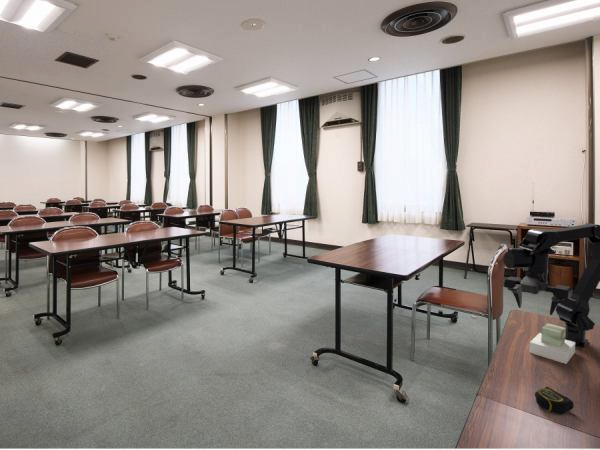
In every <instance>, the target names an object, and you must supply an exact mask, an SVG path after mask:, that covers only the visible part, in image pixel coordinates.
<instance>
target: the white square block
mask: <svg viewBox="0 0 600 450" xmlns="http://www.w3.org/2000/svg"><path fill="white" fill-rule="evenodd" d="M541 336H542V332H539V333H538V334H536V336H534V337H533V339H531V340H530V341H529V349H528V350H529V351H528V352H529V353H530V354H533V355H536V356H539V357H543V358H546V359H549V360H552V361H555V362H558V363H562V364H565V365H566V364H568V362H569V361H570V360H571V358H572V357H573V356H574V354H575V353H576V345H575V342H572V341H569V340H565V343H564V344H563V345H561V346H560V347H556V346H553V345H550V344H546V343H543V342H541Z"/></svg>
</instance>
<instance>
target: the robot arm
mask: <svg viewBox="0 0 600 450" xmlns="http://www.w3.org/2000/svg"><path fill="white" fill-rule="evenodd" d="M581 239H587V240H588V242H589V243H591V244H592V245H591V247H590V251H591V259H590V260H589V262H588V263H587V266H586V267H585V270H584V271H583V273H582V275H581V276H580V278H579V280H578V282H577V283H576V285H575V287H574V289H573V288H572V287H571V286H566V285H563V284H557V285H556V286H549V284H548V283H549V282H548V273H549V256H550V255H555V254H556V251H554V250H553V249H552V247H556V246H558V244H560V243H563V242H568V241H574V240H575V241H576V240H581ZM502 260H503V264H504V266H505V268H507V269H511V270H512V269H526V270H525V275H524V276H523V278H521V277H517V276H516V277H515V276H511V275H510V276H509V277H507V278H505V279H504V280H503V284H502V285H503V286H502V287H504V288H507V290H508V291H510V292H511V293H512V294H513V297H514V298H515V301H516V303H517V307H518V308H519V309H521V308H522V303H523V293H527V294H529V293H530V294H532V295H537V294H539V292H547V293H552V295H553V296H552V297H551V304H550V310H549V316H552V315H553V313H554V312H556V314H557V315H558V317H559V321H561V322H563V323H564V324H565V325H564V328H566V330H565V340H569V341H572V342H575V346H577V347H582V348H585V347H586V345H587V344H588V343H589V339H586V338H587V337H586V336H587V332H588V331H590V330H593V329H594V327H595V325H596V324H595V322H594V321H593V320H592V319H591V318H590V317H589V313H590V303H589V301H590V299H591V298H592V295H593V294H594V293H595V291H596V289H597V288H598V285H599V284H600V224H596V223H595V224H594V223H585V224H580V225H574V226H569V227H561V228H556V229H548V228H546V229H544V228H532V229H529V230H527V232H526V234H525V236H524V238H523V239H522V240H521V241H520V243H519V244H518V245H517V247H507V251H506V252H505V253H504V255H503V259H502Z"/></svg>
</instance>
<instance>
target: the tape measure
mask: <svg viewBox="0 0 600 450" xmlns="http://www.w3.org/2000/svg"><path fill="white" fill-rule="evenodd" d="M534 396H535V402H536V404H537V405H538V406H539V407H540V408H541V409H543V410H545V411H547V412H549V413H552V414H554V415H555V414H556V415H564V414H566V413H568V412H569V411H572V410H573V408H574V401H573V400H572V399H570V398H568V397H567V396H565V395H563V394H561V393H560V392H558V391H557V390H554V389H553V388H550V387H549V386H546V387H544V388H543V387H542V388H539V389H538V390H537V391H535V393H534Z"/></svg>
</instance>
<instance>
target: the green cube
mask: <svg viewBox="0 0 600 450" xmlns="http://www.w3.org/2000/svg"><path fill="white" fill-rule="evenodd" d="M565 330H566V328H565V327H563V326H559V325H556V324H552V323H549V322H547V323H546V324H545V325H543V326H542V327H541V333H542V336H541V342H543V343H546V344H550V345H553V346H556V347H560V346H561V345H563V344H564V343H565Z"/></svg>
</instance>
